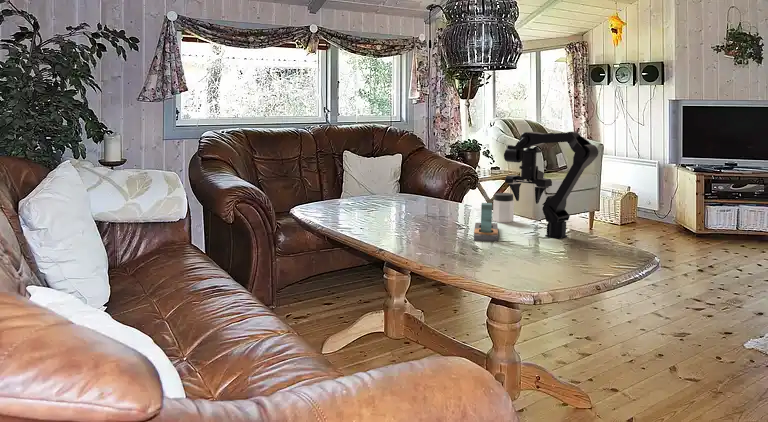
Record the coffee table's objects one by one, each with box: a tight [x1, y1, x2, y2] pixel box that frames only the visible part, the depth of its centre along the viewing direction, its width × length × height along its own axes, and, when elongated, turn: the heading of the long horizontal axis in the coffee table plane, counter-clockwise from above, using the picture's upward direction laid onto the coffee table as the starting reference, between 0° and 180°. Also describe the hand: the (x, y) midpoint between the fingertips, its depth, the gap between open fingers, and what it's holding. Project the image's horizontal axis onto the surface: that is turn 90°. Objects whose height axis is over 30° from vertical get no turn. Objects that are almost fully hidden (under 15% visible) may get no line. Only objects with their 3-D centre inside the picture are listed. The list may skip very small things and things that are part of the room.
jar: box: [492, 192, 515, 224], centre depth 283 cm, size 9×8×12 cm
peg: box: [480, 202, 493, 232], centre depth 250 cm, size 4×4×13 cm
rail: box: [473, 222, 499, 242], centre depth 256 cm, size 26×9×2 cm, turn 170°
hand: (527, 202), depth 259 cm, fingers open, 9 cm apart
